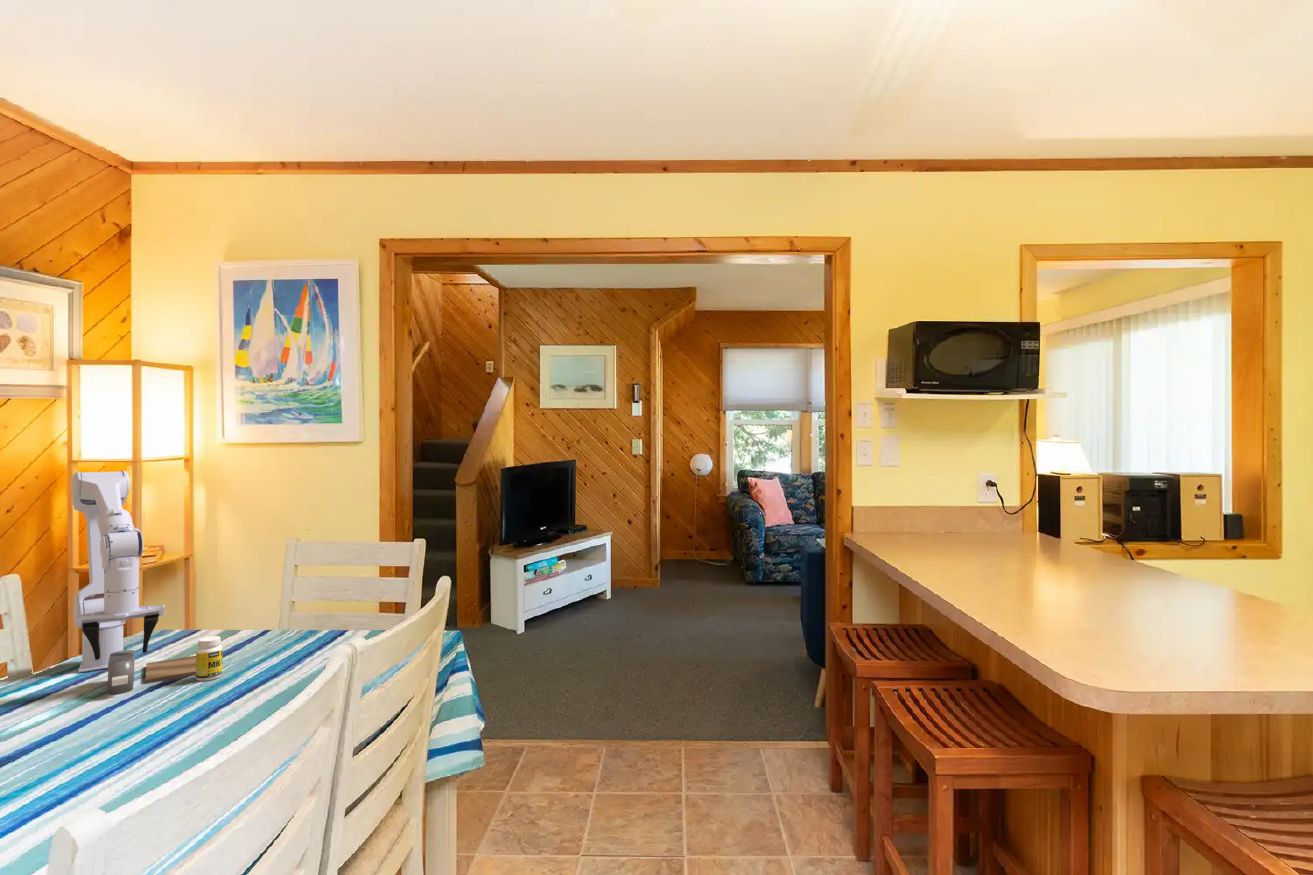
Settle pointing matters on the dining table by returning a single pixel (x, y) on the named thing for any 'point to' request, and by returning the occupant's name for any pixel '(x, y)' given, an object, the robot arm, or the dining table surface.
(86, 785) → the dining table surface
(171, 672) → the walnut board
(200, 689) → the dining table surface
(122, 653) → the grey rounded piece
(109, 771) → the dining table surface
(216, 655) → the supplement bottle
